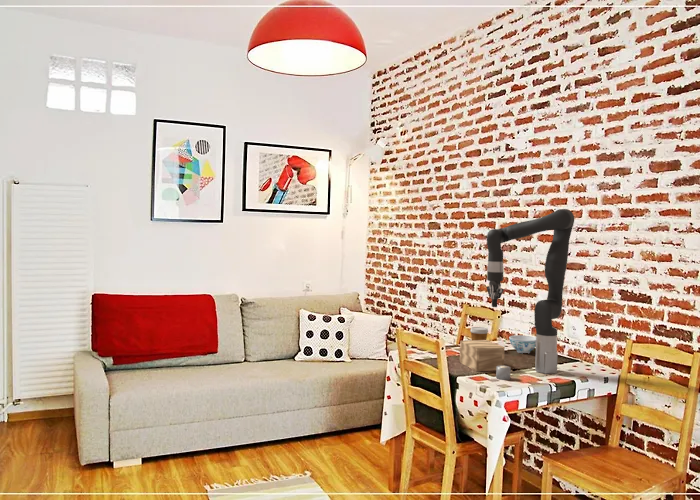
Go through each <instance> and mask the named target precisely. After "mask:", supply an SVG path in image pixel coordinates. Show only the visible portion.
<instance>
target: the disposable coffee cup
mask: <svg viewBox="0 0 700 500" xmlns="http://www.w3.org/2000/svg"><path fill="white" fill-rule="evenodd" d="M469 332H470V336H471V340H488V339H487V337H488V333H489V330H488V328H487V327H483V326H482V327H481V326H473V327H470V331H469Z"/></svg>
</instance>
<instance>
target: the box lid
mask: <svg viewBox="0 0 700 500" xmlns="http://www.w3.org/2000/svg"><path fill="white" fill-rule="evenodd" d="M460 342H462V343H464V344H466V345H468V346H470V347H472V348H475V349H504V350H505V347H504V346H502V345H500V344H498V343H495V342H493V341H491V340H488V339H486V340H472V339H471V340H460V341H459V343H460Z"/></svg>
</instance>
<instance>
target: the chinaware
mask: <svg viewBox="0 0 700 500" xmlns="http://www.w3.org/2000/svg"><path fill="white" fill-rule="evenodd" d="M509 343H510V345H511V346H512V348H513V349H514V350H516V353H518V354H523V353H528V354H531V352H532V351H533V350H534V349H536V336H532V335H523V334H522V335H519V334H517V335H516V334H514V335H509Z"/></svg>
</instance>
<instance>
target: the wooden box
mask: <svg viewBox="0 0 700 500" xmlns="http://www.w3.org/2000/svg"><path fill="white" fill-rule="evenodd" d="M459 363H460V364H462V365H464V366H465V367H467V368H470V369H471V370H473V371H475V372H486V371H488V372H489V371H490V372H491V371H496V366H500V365H503V366H505V349H475V348H472V347H470V346H468V345H466V344H464V343H462V342H460V341H459Z"/></svg>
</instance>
